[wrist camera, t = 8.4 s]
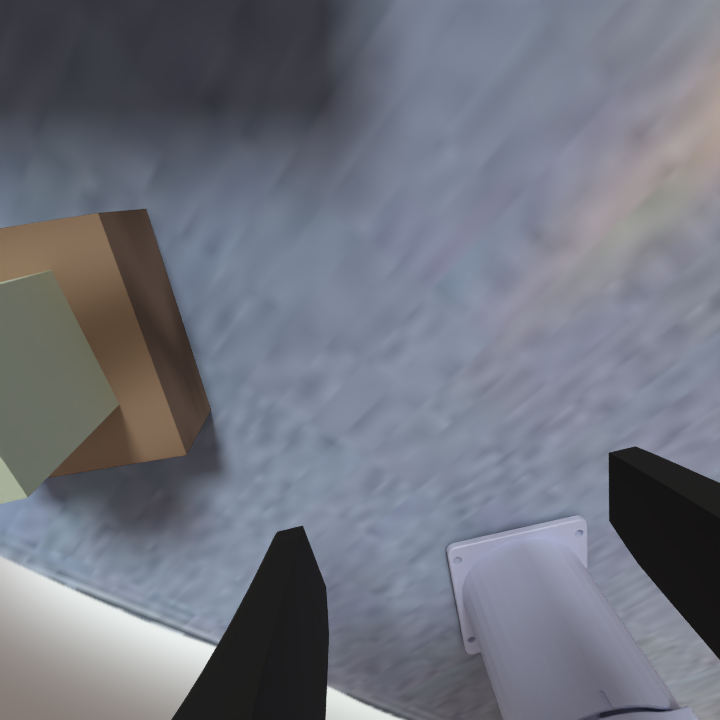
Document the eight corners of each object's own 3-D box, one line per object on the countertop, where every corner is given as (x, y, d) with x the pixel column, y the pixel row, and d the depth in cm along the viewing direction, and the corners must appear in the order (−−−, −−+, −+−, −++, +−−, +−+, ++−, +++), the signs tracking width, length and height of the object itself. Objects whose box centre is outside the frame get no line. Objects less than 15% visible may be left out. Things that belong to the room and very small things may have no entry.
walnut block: (212, 406, 20) (186, 455, 16) (25, 436, 20) (-44, 492, 16) (149, 208, 16) (98, 213, 13) (-78, 244, 16) (-197, 259, 13)
